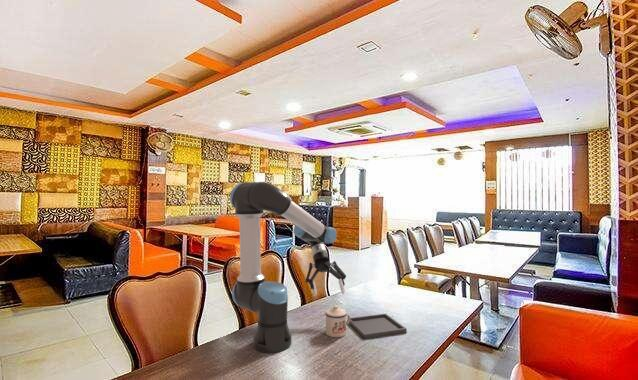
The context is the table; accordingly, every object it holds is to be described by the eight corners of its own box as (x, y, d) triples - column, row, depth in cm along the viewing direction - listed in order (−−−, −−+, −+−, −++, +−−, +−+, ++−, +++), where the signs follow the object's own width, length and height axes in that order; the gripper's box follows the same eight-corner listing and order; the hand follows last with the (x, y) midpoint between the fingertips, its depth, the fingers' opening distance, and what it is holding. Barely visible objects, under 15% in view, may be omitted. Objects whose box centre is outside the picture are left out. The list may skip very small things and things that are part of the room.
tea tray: (364, 339, 131) (364, 334, 131) (347, 322, 148) (347, 318, 148) (406, 332, 137) (406, 328, 137) (385, 317, 154) (385, 313, 154)
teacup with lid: (332, 339, 130) (332, 311, 130) (321, 331, 137) (321, 304, 138) (356, 333, 136) (356, 306, 136) (343, 325, 144) (343, 300, 144)
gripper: (340, 257, 167) (352, 295, 152) (294, 260, 159) (302, 300, 145) (344, 249, 162) (356, 287, 147) (297, 252, 154) (305, 292, 140)
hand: (329, 293), depth 146 cm, fingers open, 13 cm apart
